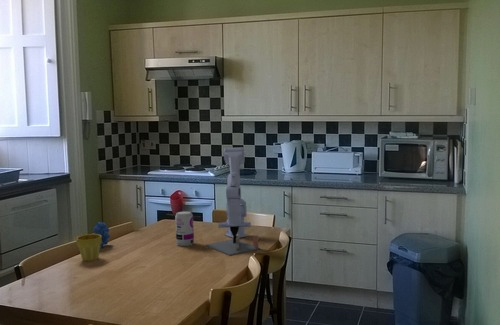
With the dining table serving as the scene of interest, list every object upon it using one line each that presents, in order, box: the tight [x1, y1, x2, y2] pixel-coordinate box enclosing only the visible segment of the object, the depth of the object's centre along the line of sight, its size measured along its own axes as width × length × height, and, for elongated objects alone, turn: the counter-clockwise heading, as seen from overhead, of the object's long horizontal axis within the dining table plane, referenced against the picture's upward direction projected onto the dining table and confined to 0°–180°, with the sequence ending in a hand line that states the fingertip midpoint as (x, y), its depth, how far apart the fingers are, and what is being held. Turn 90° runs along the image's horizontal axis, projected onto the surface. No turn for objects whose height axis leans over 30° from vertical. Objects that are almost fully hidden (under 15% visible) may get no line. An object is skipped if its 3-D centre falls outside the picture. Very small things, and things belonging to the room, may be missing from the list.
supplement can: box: [174, 210, 195, 247], centre depth 243 cm, size 8×8×15 cm
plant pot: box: [75, 233, 102, 262], centre depth 224 cm, size 10×10×10 cm
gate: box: [236, 233, 239, 249], centre depth 233 cm, size 11×1×4 cm, turn 1°
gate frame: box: [205, 230, 261, 256], centre depth 235 cm, size 21×16×7 cm
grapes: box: [92, 221, 111, 248], centre depth 243 cm, size 12×7×12 cm, turn 160°
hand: (235, 242), depth 234 cm, fingers closed, pressing on gate
